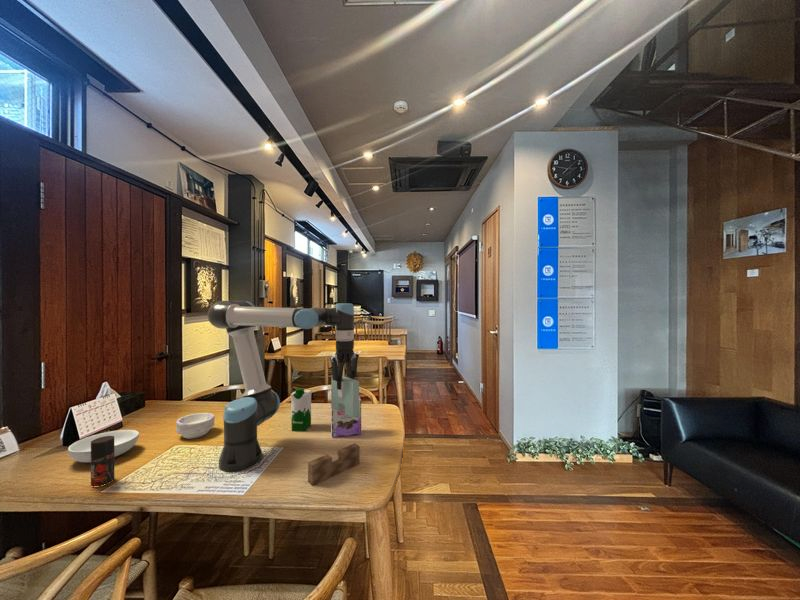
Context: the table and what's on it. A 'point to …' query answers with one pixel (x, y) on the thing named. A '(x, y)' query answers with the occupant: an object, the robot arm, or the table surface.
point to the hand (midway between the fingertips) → (344, 395)
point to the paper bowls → (195, 425)
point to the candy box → (345, 423)
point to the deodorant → (102, 460)
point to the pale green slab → (346, 396)
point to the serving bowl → (121, 437)
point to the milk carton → (301, 409)
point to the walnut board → (333, 464)
